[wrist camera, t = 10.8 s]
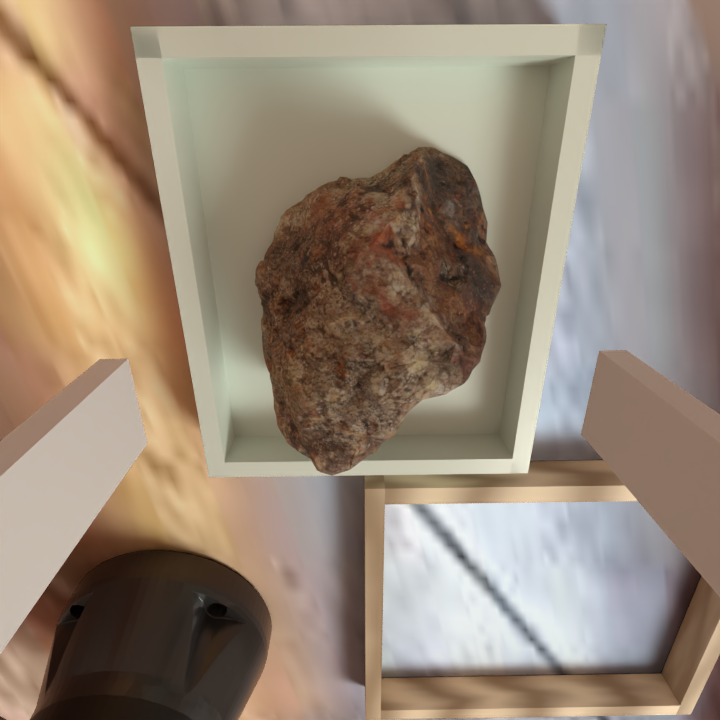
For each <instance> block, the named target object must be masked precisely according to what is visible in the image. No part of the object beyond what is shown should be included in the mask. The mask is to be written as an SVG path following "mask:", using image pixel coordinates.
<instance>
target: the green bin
mask: <svg viewBox="0 0 720 720" xmlns="http://www.w3.org/2000/svg"><path fill="white" fill-rule="evenodd" d="M606 25H607V24H490V25H313V26H135V27H130V29H131V35H132V41H133V46H134V52H135V58H136V63H137V69H138V75H139V81H140V86H141V92H142V98H143V103H144V109H145V115H146V121H147V126H148V132H149V138H150V143H151V149H152V155H153V161H154V166H155V172H156V178H157V183H158V189H159V195H160V201H161V206H162V212H163V218H164V223H165V229H166V235H167V241H168V246H169V252H170V258H171V263H172V269H173V275H174V281H175V286H176V292H177V298H178V303H179V309H180V315H181V321H182V326H183V332H184V338H185V343H186V349H187V355H188V361H189V366H190V372H191V378H192V383H193V389H194V395H195V401H196V406H197V412H198V418H199V423H200V429H201V435H202V441H203V446H204V452H205V458H206V463H207V469H208V475H209V477H274V476H331V475H328V474H325V473H321V472H319V471H317V470H316V468H315V466H314V464H313V463H312V461H311V459H310V458H308V457H306V456H305V455H303V454H301V453H299V452H298V451H297V450H296V449H294V448H293V447H291V446H290V445H289V444H288V443H287V442H286V440H285V438H284V436H283V435H282V433H281V431H280V430H279V428H278V426H277V418H276V414H275V411H274V397H273V392H272V383H271V380H270V373H269V371H268V369H267V366H266V363H265V360H264V355H263V346H262V329H261V319H262V316H263V307H262V305H261V299H260V297H259V294H258V288H257V286H256V285H255V278H256V277H255V272H256V268H257V266H258V264H259V262H260V261H263V260H264V256H265V253H266V251H267V249H268V248H269V246H270V245H271V243H272V242H273V239H274V232H275V230H276V228H277V226H278V225H279V222H280V218H281V216H282V214H283V213H284V212H285V211H286V210H287V209H289V208H290V207H292V206H293V205H295V204H297V203H298V202H300V201H302V200H303V199H304V198H305V196H306V195H307V194H309V193H311V192H312V191H314V190H316V189H317V188H318V187H319V186H322V185H324V184H326V183H328V182H332V181H336V180H338V178H339V177H348V178H349V179H351V180H352V179H356V178H370V177H372V176H374V175H376V174H377V173H379V172H381V171H383V170H384V169H386V168H387V167H388V166H390V165H391V164H392V163H393V162H395V161H396V160H398V159H400V158H401V157H402V156H403V155H404V154H409V153H410V152H412V151H414V150H416V149H417V148H418V147H433V148H435V149H437V150H439V151H441V152H442V153H444V154H448V155H450V156H452V157H453V158H455V159H457V160H459V161H460V162H462V163H464V164H465V165H467V166H468V168H469V169H470V171H471V173H472V175H473V177H474V179H475V181H476V183H477V186H478V189H479V192H480V195H481V200H482V205H483V209H484V212H485V216H486V219H487V222H488V225H487V241H486V242H487V244H488V246H489V248H490V249H491V251H492V252H493V254H494V256H495V258H496V262H497V265H498V269H499V277H500V282H501V289H500V291H499V293H498V296H497V298H496V300H495V302H494V303H493V305H492V307H491V311H490V314H489V315H488V316H486V322H485V327H486V335H487V337H486V343H485V346H484V349H483V352H482V356H481V361H480V363H479V364H478V365H477V366H476V367H475V368H474V369H473V370H472V372H471V374H470V377H469V379H468V380H467V381H466V382H465V383H464V384H463V385H461V386H459V387H457V388H455V389H454V390H452V391H450V392H449V393H447V394H445V395H441V396H437V397H433V398H428V399H424V400H422V401H420V402H419V403H418V404H417V405H416V406H414V407H413V408H412V409H411V410H410V411H409V412H408V413H407V414H406V416H405V418H404V420H403V422H402V423H401V425H400V426H399V428H398V430H397V431H396V433H395V434H394V436H393V437H392V438H390V439H388V440H387V441H385V442H383V443H382V444H381V445H380V447H379V449H378V450H377V452H376V453H373V454H371V455H369V456H368V457H366V458H365V459H364V460H362V461H361V462H360V463H358V464H357V465H356V466H354V467H353V468H352V469H350V470H348V471H345V472H342V473H339V474H336V475H333V476H352V475H429V474H507V473H528V470H529V464H530V458H531V453H532V447H533V441H534V436H535V430H536V424H537V418H538V413H539V407H540V401H541V396H542V390H543V384H544V379H545V373H546V367H547V361H548V356H549V350H550V344H551V339H552V333H553V327H554V322H555V316H556V310H557V304H558V299H559V293H560V287H561V282H562V276H563V270H564V265H565V259H566V253H567V247H568V242H569V236H570V230H571V225H572V219H573V213H574V208H575V202H576V196H577V190H578V185H579V179H580V173H581V168H582V162H583V156H584V151H585V145H586V139H587V133H588V128H589V122H590V116H591V111H592V105H593V99H594V94H595V88H596V82H597V76H598V71H599V65H600V59H601V54H602V48H603V42H604V37H605V31H606Z"/></svg>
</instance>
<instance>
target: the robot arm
mask: <svg viewBox="0 0 720 720" xmlns="http://www.w3.org/2000/svg"><path fill="white" fill-rule="evenodd" d="M581 434H582V436H583V437H584V438H585V439H586V440H587V442H588V443H589V444H590V445H591V446H592V447H593V449H594V450H595V451H596V452H597V453H598V454H599V456H600V457H601V458H602V459H603V460H604V462H605V463H606V464H607V465H608V466H609V467H610V469H611V470H612V471H613V472H614V473H615V474H616V476H617V477H618V478H619V479H620V480H621V482H622V483H623V484H624V485H625V486H626V487H627V489H628V490H629V491H630V492H631V493H632V495H633V496H634V497H635V498H636V499H637V500H638V502H639V503H640V504H641V505H642V506H643V507H644V509H645V510H646V511H647V512H648V513H649V515H650V516H651V517H652V518H653V519H654V520H655V522H656V523H657V524H658V525H659V526H660V527H661V529H662V530H663V531H664V532H665V533H666V535H667V536H668V537H669V538H670V539H671V540H672V542H673V543H674V544H675V545H676V546H677V547H678V549H679V550H680V551H681V552H682V553H683V555H684V556H685V557H686V558H687V559H688V560H689V562H690V563H691V564H692V565H693V566H694V567H695V569H696V570H697V571H698V572H699V573H700V575H701V576H702V577H703V578H704V579H705V580H706V582H707V583H708V584H709V585H710V586H711V587H712V589H713V590H714V591H715V592H716V593H717V595H718V596H719V597H720V414H718V413H717V412H715V411H714V410H712V409H711V408H709V407H708V406H706V405H705V404H704V403H702V402H701V401H699V400H698V399H696V398H695V397H693V396H692V395H690V394H689V393H688V392H686V391H685V390H683V389H682V388H680V387H679V386H677V385H676V384H674V383H673V382H672V381H670V380H669V379H667V378H666V377H664V376H663V375H661V374H660V373H658V372H657V371H656V370H654V369H653V368H651V367H650V366H648V365H647V364H645V363H644V362H642V361H641V360H640V359H638V358H637V357H635V356H634V355H632V354H631V353H629V352H628V351H626V350H612V351H599V354H598V359H597V364H596V368H595V373H594V377H593V382H592V387H591V391H590V396H589V400H588V405H587V410H586V414H585V419H584V424H583V428H582V433H581ZM146 445H147V439H146V435H145V430H144V426H143V422H142V417H141V413H140V408H139V404H138V400H137V395H136V391H135V386H134V382H133V378H132V373H131V369H130V364H129V360H128V359H100V360H99V361H97V362H96V363H95V364H94V365H92V366H91V367H90V368H89V369H88V370H86V371H85V372H84V373H83V374H81V375H80V376H79V377H78V378H77V379H75V380H74V381H73V382H72V383H70V384H69V385H68V386H67V387H66V388H64V389H63V390H62V391H61V392H59V393H58V394H57V395H56V396H55V397H53V398H52V399H51V400H50V401H48V402H47V403H46V404H45V405H44V406H42V407H41V408H40V409H39V410H37V411H36V412H35V413H34V414H33V415H31V416H30V417H29V418H28V419H26V420H25V421H24V422H23V423H22V424H20V425H19V426H18V427H17V428H15V429H14V430H13V431H12V432H10V433H9V434H8V435H7V436H6V437H4V438H3V439H2V440H1V441H0V654H1V652H2V651H3V650H4V648H5V647H6V645H7V644H8V642H9V641H10V640H11V638H12V637H13V635H14V634H15V632H16V631H17V630H18V628H19V627H20V625H21V624H22V622H23V621H24V620H25V618H26V617H27V615H28V614H29V612H30V611H31V609H32V608H33V607H34V605H35V604H36V602H37V601H38V599H39V598H40V597H41V595H42V594H43V592H44V591H45V589H46V588H47V587H48V585H49V584H50V582H51V581H52V579H53V578H54V576H55V575H56V574H57V572H58V571H59V569H60V568H61V566H62V565H63V564H64V562H65V561H66V559H67V558H68V556H69V555H70V554H71V552H72V551H73V549H74V548H75V546H76V545H77V544H78V542H79V541H80V539H81V538H82V536H83V535H84V533H85V532H86V531H87V529H88V528H89V526H90V525H91V523H92V522H93V521H94V519H95V518H96V516H97V515H98V513H99V512H100V511H101V509H102V508H103V506H104V505H105V503H106V502H107V501H108V499H109V498H110V496H111V495H112V493H113V492H114V490H115V489H116V488H117V486H118V485H119V483H120V482H121V480H122V479H123V478H124V476H125V475H126V473H127V472H128V470H129V469H130V468H131V466H132V465H133V463H134V462H135V460H136V459H137V457H138V456H139V455H140V453H141V452H142V450H143V449H144V447H145V446H146ZM271 630H272V625H271V617H270V614H269V611H268V608H267V606H266V604H265V602H264V600H263V599H262V597H261V596H260V595H259V593H258V592H257V591H256V590H255V589H254V588H253V587H252V586H251V585H250V584H249V583H248V582H247V581H246V580H245V579H243V578H242V577H241V576H239V575H238V574H236V573H235V572H233V571H232V570H230V569H228V568H226V567H224V566H222V565H220V564H218V563H216V562H213V561H211V560H208V559H205V558H202V557H198V556H195V555H191V554H186V553H180V552H172V551H143V552H135V553H130V554H125V555H122V556H118V557H115V558H113V559H110V560H108V561H106V562H104V563H102V564H100V565H99V566H97V567H96V568H94V569H93V570H92V571H90V572H89V573H88V574H87V575H86V576H85V577H84V578H83V579H82V581H81V582H80V584H79V585H78V587H77V588H76V590H75V591H74V593H73V595H72V596H71V598H70V599H69V601H68V602H67V604H66V606H65V607H64V609H63V611H62V613H61V616H60V618H59V621H58V624H57V628H56V632H55V636H54V640H53V643H52V647H51V651H50V655H49V659H48V663H47V667H46V671H45V675H44V678H43V682H42V686H41V690H40V694H39V698H38V702H37V706H36V708H35V711H34V713H33V715H32V717H31V719H30V720H238V719H239V717H240V715H241V714H242V712H243V710H244V708H245V706H246V704H247V702H248V700H249V698H250V696H251V694H252V692H253V690H254V688H255V686H256V684H257V682H258V680H259V678H260V676H261V674H262V672H263V669H264V666H265V663H266V660H267V655H268V649H269V643H270V637H271ZM0 720H6V719H4V718H2V717H0Z"/></svg>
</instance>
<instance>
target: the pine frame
mask: <svg viewBox="0 0 720 720" xmlns="http://www.w3.org/2000/svg"><path fill="white" fill-rule="evenodd" d="M599 501H638V500H637V499H636V498H635V497H634V496H633V495H632V493H631V492H630V491H629V490H628V489H627V487H626V486H625V485H624V484H623V483H622V482H621V480H620V479H619V478H618V477H617V476H616V474H615V473H614V472H613V471H612V470H611V469H610V467H609V466H608V465H607V464H606V463H605V462H604V460H588V461H530V464H529V470H528V473H507V474H429V475H364V544H365V708H366V720H383V719H442V718H502V717H561V716H621V715H680V714H691V713H692V711H693V709H694V706H695V704H696V702H697V700H698V698H699V696H700V694H701V692H702V690H703V688H704V686H705V684H706V682H707V679H708V677H709V675H710V673H711V671H712V669H713V667H714V665H715V663H716V661H717V659H718V657H719V654H720V597H719V596H718V595H717V593H716V592H715V591H714V590H713V589H712V587H711V586H710V585H709V584H708V583H707V582H706V580H705V579H704V578H703V577H702V576H701V578H700V581H699V583H698V585H697V588H696V590H695V593H694V595H693V598H692V600H691V602H690V605H689V607H688V610H687V612H686V615H685V617H684V619H683V622H682V624H681V627H680V629H679V632H678V634H677V636H676V639H675V641H674V644H673V646H672V649H671V651H670V653H669V656H668V658H667V661H666V663H665V666H664V668H663V670H662V673H661V674H601V675H539V676H477V677H416V678H381V671H382V619H383V567H384V514H385V504H449V503H524V502H599Z"/></svg>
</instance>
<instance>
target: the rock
mask: <svg viewBox="0 0 720 720" xmlns="http://www.w3.org/2000/svg"><path fill="white" fill-rule="evenodd" d="M487 225H488V222H487V219H486V216H485V212H484V209H483V205H482V200H481V195H480V192H479V189H478V186H477V183H476V181H475V179H474V177H473V175H472V173H471V171H470V169H469V168H468V166H467V165H465V164H464V163H462V162H460V161H459V160H457V159H455V158H453V157H452V156H450V155H448V154H444V153H442V152H441V151H439V150H437V149H435V148H433V147H418V148H417V149H416V150H414V151H412V152H410V153H409V154H404V155H403V156H402V157H401V158H400V159H398V160H396V161H395V162H393V163H392V164H391V165H390V166H388V167H387V168H386V169H384V170H383V171H381V172H379V173H377V174H376V175H374V176H372V177H370V178H356V179H352V180H351V179H349V178H348V177H339V178H338V180H336V181H332V182H328V183H326V184H324V185H322V186H319V187H318V188H317V189H316V190H314V191H312V192H311V193H309V194H307V195H306V196H305V198H304V199H303V200H302V201H300V202H298V203H297V204H295V205H293V206H292V207H290V208H289V209H287V210H286V211H285V212H284V213H283V214H282V216H281V218H280V222H279V225H278V226H277V228H276V230H275V232H274V239H273V242H272V243H271V245H270V246H269V248H268V249H267V251H266V253H265V256H264V260H263V261H260V262H259V264H258V266H257V268H256V272H255V277H256V278H255V285H256V286H257V288H258V294H259V297H260V299H261V305H262V307H263V316H262V319H261V329H262V346H263V355H264V360H265V363H266V366H267V369H268V371H269V373H270V380H271V383H272V392H273V397H274V411H275V414H276V418H277V426H278V428H279V430H280V431H281V433H282V435H283V436H284V438H285V440H286V442H287V443H288V444H289V445H290V446H291V447H293V448H294V449H296V450H297V451H298V452H299V453H301V454H303V455H305V456H306V457H308V458H310V459H311V461H312V463H313V464H314V466H315V468H316V470H317V471H319V472H321V473H325V474H328V475H331V476H333V475H336V474H339V473H342V472H345V471H348V470H350V469H352V468H353V467H354V466H356V465H357V464H358V463H360V462H361V461H362V460H364V459H365V458H366V457H368V456H369V455H371V454H373V453H376V452H377V450H378V449H379V447H380V445H381V444H382V443H383V442H385V441H387V440H388V439H390V438H392V437H393V436H394V434H395V433H396V431H397V430H398V428H399V426H400V425H401V423H402V422H403V420H404V418H405V416H406V414H407V413H408V412H409V411H410V410H411V409H412V408H413V407H414V406H416V405H417V404H418V403H419V402H420V401H422V400H424V399H428V398H433V397H437V396H441V395H445V394H447V393H449V392H450V391H452V390H454V389H455V388H457V387H459V386H461V385H463V384H464V383H465V382H466V381H467V380H468V379H469V377H470V374H471V372H472V370H473V369H474V368H475V367H476V366H477V365H478V364H479V363H480V361H481V356H482V352H483V349H484V346H485V343H486V337H487V335H486V327H485V322H486V316H488V315H489V314H490V311H491V307H492V305H493V303H494V302H495V300H496V298H497V296H498V293H499V291H500V289H501V282H500V277H499V269H498V265H497V262H496V258H495V256H494V254H493V252H492V251H491V249H490V248H489V246H488V244H487V242H486V241H487Z"/></svg>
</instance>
